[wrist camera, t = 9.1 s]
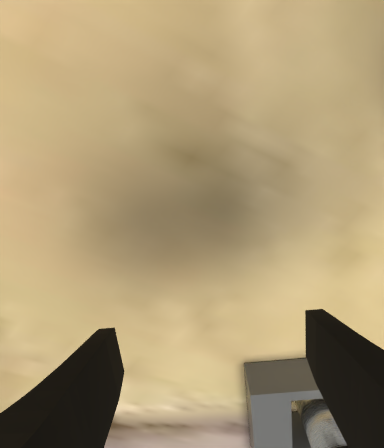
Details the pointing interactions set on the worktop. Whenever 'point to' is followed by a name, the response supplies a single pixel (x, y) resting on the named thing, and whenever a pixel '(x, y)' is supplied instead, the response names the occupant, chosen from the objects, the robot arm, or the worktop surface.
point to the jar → (319, 424)
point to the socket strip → (278, 402)
